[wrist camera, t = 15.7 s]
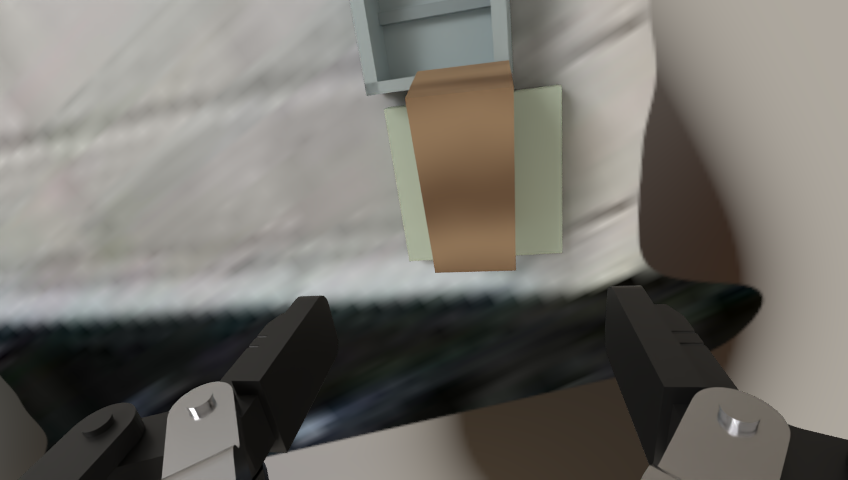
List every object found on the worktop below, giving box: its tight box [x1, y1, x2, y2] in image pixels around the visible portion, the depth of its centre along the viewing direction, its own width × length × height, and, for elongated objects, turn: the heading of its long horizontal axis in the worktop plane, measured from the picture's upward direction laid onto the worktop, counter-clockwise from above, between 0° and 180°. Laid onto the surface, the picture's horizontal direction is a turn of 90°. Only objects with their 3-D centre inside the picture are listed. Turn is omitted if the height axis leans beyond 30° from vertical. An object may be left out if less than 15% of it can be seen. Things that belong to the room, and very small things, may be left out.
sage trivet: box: [384, 85, 562, 261], centre depth 25 cm, size 10×10×1 cm
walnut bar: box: [405, 60, 516, 273], centre depth 21 cm, size 10×4×4 cm, turn 6°
